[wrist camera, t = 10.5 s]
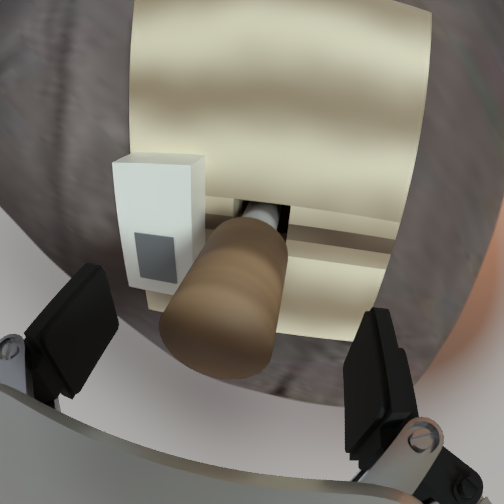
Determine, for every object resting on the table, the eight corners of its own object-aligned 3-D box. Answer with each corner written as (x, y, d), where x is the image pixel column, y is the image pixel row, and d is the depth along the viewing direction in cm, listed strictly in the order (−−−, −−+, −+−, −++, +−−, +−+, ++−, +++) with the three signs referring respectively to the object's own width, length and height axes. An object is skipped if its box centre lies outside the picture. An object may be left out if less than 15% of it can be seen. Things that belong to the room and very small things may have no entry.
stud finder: (134, 152, 16) (110, 162, 14) (205, 154, 16) (190, 166, 14) (144, 266, 21) (128, 287, 18) (205, 276, 20) (194, 300, 18)
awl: (236, 175, 19) (151, 287, 9) (298, 183, 19) (279, 311, 9) (234, 230, 22) (166, 365, 11) (291, 238, 21) (266, 387, 11)
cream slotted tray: (157, 3, 14) (135, -7, 11) (413, 22, 12) (431, 12, 10) (162, 286, 25) (148, 309, 23) (355, 315, 24) (358, 341, 21)
